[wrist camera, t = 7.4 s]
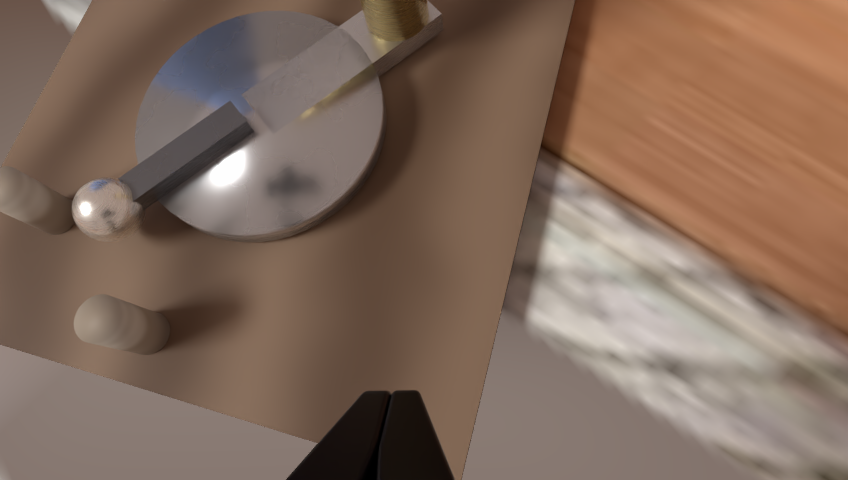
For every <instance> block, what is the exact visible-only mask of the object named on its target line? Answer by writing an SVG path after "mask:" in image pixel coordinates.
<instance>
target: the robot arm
mask: <svg viewBox="0 0 848 480" xmlns="http://www.w3.org/2000/svg"><path fill="white" fill-rule="evenodd" d="M286 480H455V478H454V476H453V473H452V471H451V468H450V466H449V463H448V461H447V458H446V456H445V453H444V451H443V448H442V446H441V443H440V441H439V438H438V436H437V433H436V431H435V428H434V426H433V423H432V421H431V418H430V416H429V414H428V411H427V409H426V406H425V404H424V401H423V399H422V396H421V394H420V392H419V391H417V390H396V391H394V392H393V393H392V394H391V392H389V391H387V390H382V391H365V392H364V393H362V394H361V395H360V396H359V397H358V399H357V400H356V401H355V402H354V403H353V404H352V405H351V407H350V408H349V409H348V410H347V411H346V412H345V413H344V414H343V416H342V417H341V418H340V419H339V420H338V421H337V422H336V424H335V425H334V426H333V427H332V428H331V429H330V430H329V431H328V433H327V434H326V435H325V436H324V437H323V438H322V439H321V440H320V442H319V443H318V444H317V445H316V446H315V447H314V448H313V450H312V451H311V452H310V453H309V454H308V455H307V456H306V457H305V459H304V460H303V461H302V462H301V463H300V464H299V466H298V467H297V468H296V469H295V470H294V471H293V472H292V473H291V475H290V476H289V477H288V478H287V479H286Z"/></svg>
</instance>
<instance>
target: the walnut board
mask: <svg viewBox="0 0 848 480" xmlns="http://www.w3.org/2000/svg"><path fill="white" fill-rule="evenodd" d="M428 1H429V2H430V3H431V4H432V5H433V6H434V7H435V8H436V9H437V10H438V11H439V12H440V13H442V21H443V31H442V32H440V33H439V34H438V35H436V36H435V37H433V38H432V39H431V40H429V41H428V42H426V43H425V44H424V45H422V46H421V47H420V48H418V49H417V50H415V51H414V52H413V53H411V54H410V55H408V56H407V57H406V58H404V59H403V60H402V61H400V62H399V63H397V64H396V65H395V66H393V67H392V68H390V69H389V70H388V71H386V72H385V73H383V74H382V75H381V76H379V77H378V78H379V81H380V85H381V88H382V92H383V96H384V101H385V105H386V132H385V138H384V142H383V146H382V150H381V152H380V155H379V158H378V160H377V163H376V165H375V167H374V169H373V170H372V172H371V174H370V176H369V178H368V179H367V180H366V182H365V183H364V185H363V186H362V187H361V189H360V190H359V191H358V192H357V193H356V194H355V196H354V197H353V198H352V199H351V200H350V201H349V202H348V203H347V204H346V205H345V206H343V207H342V208H341V209H340V210H339V211H337V212H336V213H335V214H334V215H332V216H331V217H329V218H328V219H326V220H325V221H323V222H322V223H320V224H318V225H316V226H314V227H312V228H310V229H308V230H306V231H303V232H301V233H298V234H295V235H292V236H290V237H286V238H281V239H277V240H273V241H264V242H236V241H230V240H223V239H220V238H217V237H213V236H210V235H207V234H205V233H203V232H201V231H199V230H197V229H195V228H193V227H192V226H190V225H189V224H187V223H186V222H184V221H183V220H181V219H180V218H178V217H177V216H176V215H174V214H173V213H171V212H170V211H169V210H168V209H167V208H165V207H164V206H163V205H162V204H161V203H160V202H159V201H156V202H155V203H154V204H152V205H151V206H149V207H148V208H147V209H146V213H145V219H144V221H143V223H142V225H141V227H140V228H139V229H138V231H137V232H135V233H134V234H133V235H131V236H130V237H128V238H126V239H123V240H120V241H115V242H104V241H99V240H96V239H93V238H91V237H89V236H87V235H86V234H85V233H83V232H82V231H81V230H80V229H79V228H78V226H77V225H76V223H75V221H74V219H73V216H72V202H73V199H74V196H75V194H76V193H77V191H78V190H79V189H80V188H81V187H82V186H83V185H85V184H86V183H88V182H90V181H92V180H94V179H98V178H104V177H112V178H120V177H121V176H122V175H124V174H125V173H127V172H128V171H130V170H131V169H132V168H134V167H135V166H137V165H138V161H137V156H136V151H135V130H136V121H137V117H138V113H139V109H140V106H141V103H142V101H143V98H144V96H145V93H146V91H147V90H148V88H149V86H150V84H151V82H152V80H153V79H154V77H155V76H156V75H157V73H158V72H159V70H160V69H161V67H162V66H163V65H164V64H165V63H166V62H167V61H168V59H169V58H170V57H171V56H172V55H173V54H174V53H175V52H176V51H178V50H179V49H180V48H181V47H182V46H183V45H184V44H186V43H187V42H188V41H190V40H191V39H192V38H194V37H195V36H197V35H198V34H200V33H202V32H203V31H205V30H207V29H208V28H210V27H212V26H215V25H217V24H219V23H221V22H223V21H226V20H229V19H232V18H235V17H238V16H242V15H246V14H250V13H256V12H263V11H292V12H299V13H304V14H309V15H313V16H315V17H318V18H321V19H324V20H326V21H328V22H330V23H332V24H334V25H336V26H338V27H339V26H340V25H342V24H343V23H345V22H346V21H347V20H349V19H350V18H352V17H353V16H355V15H356V14H357V13H359V12H360V11H362V10H363V9H362V6H361V2H360V0H92V2H91V4H90V6H89V7H88V9H87V11H86V13H85V15H84V17H83V18H82V20H81V22H80V24H79V26H78V27H77V29H76V31H75V33H74V35H73V37H72V38H71V40H70V42H69V44H68V46H67V48H66V49H65V51H64V53H63V55H62V57H61V58H60V60H59V62H58V64H57V66H56V68H55V69H54V71H53V73H52V75H51V77H50V79H49V80H48V82H47V84H46V86H45V88H44V89H43V91H42V93H41V95H40V97H39V99H38V100H37V102H36V104H35V106H34V108H33V109H32V111H31V113H30V115H29V117H28V119H27V120H26V122H25V124H24V126H23V128H22V129H21V131H20V133H19V135H18V137H17V139H16V141H15V142H14V144H13V146H12V148H11V150H10V151H9V153H8V155H7V157H6V159H5V160H4V163H3V164H2V166H1V167H0V345H3V346H7V347H10V348H13V349H17V350H20V351H23V352H26V353H29V354H32V355H36V356H39V357H42V358H46V359H49V360H52V361H55V362H58V363H61V364H65V365H68V366H71V367H74V368H78V369H81V370H84V371H87V372H90V373H94V374H97V375H100V376H103V377H107V378H110V379H113V380H116V381H120V382H123V383H126V384H129V385H132V386H136V387H139V388H142V389H145V390H149V391H152V392H155V393H158V394H161V395H165V396H168V397H171V398H174V399H178V400H181V401H184V402H187V403H191V404H193V405H197V406H200V407H203V408H206V409H210V410H213V411H216V412H220V413H222V414H226V415H229V416H232V417H235V418H238V419H242V420H245V421H248V422H251V423H255V424H258V425H261V426H264V427H268V428H271V429H274V430H277V431H280V432H283V433H287V434H290V435H293V436H296V437H300V438H303V439H306V440H309V441H313V442H316V443H319V442H320V440H321V439H322V438H323V437H324V436H325V435H326V434H327V433H328V431H329V430H330V429H331V428H332V427H333V426H334V425H335V424H336V422H337V421H338V420H339V419H340V418H341V417H342V416H343V414H344V413H345V412H346V411H347V410H348V409H349V408H350V407H351V405H352V404H353V403H354V402H355V401H356V400H357V399H358V397H359V396H360V395H361V394H362V393H364V392H365V391H382V390H387V391H389V392H391V394H392V393H393V392H394V391H396V390H417V391H419V392H420V394H421V396H422V399H423V401H424V404H425V406H426V409H427V411H428V414H429V416H430V418H431V421H432V423H433V426H434V428H435V431H436V433H437V436H438V438H439V441H440V443H441V446H442V448H443V451H444V453H445V456H446V458H447V461H448V463H449V466H450V468H451V471H452V473H453V476H454V478H455V480H461V479H462V475H463V471H464V466H465V462H466V458H467V454H468V450H469V445H470V441H471V437H472V433H473V429H474V424H475V420H476V416H477V412H478V408H479V403H480V399H481V395H482V391H483V386H484V382H485V378H486V374H487V369H488V365H489V361H490V357H491V352H492V349H493V344H494V340H495V335H496V332H497V327H498V323H499V319H500V315H501V311H502V307H503V302H504V298H505V294H506V290H507V285H508V281H509V277H510V273H511V269H512V264H513V260H514V256H515V252H516V248H517V243H518V239H519V235H520V231H521V227H522V222H523V218H524V214H525V210H526V205H527V201H528V197H529V193H530V189H531V184H532V180H533V176H534V172H535V168H536V163H537V159H538V155H539V151H540V147H541V142H542V138H543V134H544V130H545V125H546V121H547V117H548V113H549V109H550V104H551V100H552V96H553V92H554V88H555V83H556V79H557V75H558V71H559V67H560V62H561V58H562V54H563V50H564V45H565V41H566V37H567V33H568V29H569V24H570V20H571V16H572V12H573V8H574V3H575V0H428Z"/></svg>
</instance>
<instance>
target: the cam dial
mask: <svg viewBox="0 0 848 480" xmlns="http://www.w3.org/2000/svg"><path fill="white" fill-rule="evenodd" d="M360 2H361V6H362V9H363V10H362V11H360V12H359V13H357V14H356V15H355V16H353V17H352V18H350V19H349V20H347V21H346V22H345V23H343V24H342V25H340V26H339V27H338V26H336V25H334V24H332V23H330V22H328V21H326V20H324V19H321V18H318V17H315V16H313V15H309V14H304V13H299V12H292V11H263V12H256V13H250V14H246V15H242V16H238V17H235V18H232V19H229V20H226V21H223V22H221V23H219V24H217V25H215V26H212V27H210V28H208V29H207V30H205V31H203V32H202V33H200V34H198V35H197V36H195V37H194V38H192V39H191V40H190V41H188V42H187V43H186V44H184V45H183V46H182V47H181V48H180V49H179V50H178V51H176V52H175V53H174V54H173V55H172V56H171V57H170V58H169V59H168V61H167V62H166V63H165V64H164V65H163V66H162V67H161V69H160V70H159V72H158V73H157V75H156V76H155V77H154V79H153V80H152V82H151V84H150V86H149V88H148V90H147V91H146V93H145V96H144V98H143V101H142V103H141V106H140V109H139V113H138V117H137V121H136V130H135V151H136V156H137V161H138V165H137V166H135V167H134V168H132V169H131V170H130V171H128V172H127V173H125V174H124V175H122V176H121V177H120V178H112V177H104V178H98V179H94V180H92V181H90V182H88V183H86V184H85V185H83V186H82V187H81V188H80V189H79V190H78V191H77V193H76V194H75V196H74V199H73V202H72V216H73V219H74V221H75V223H76V225H77V226H78V228H79V229H80V230H81V231H82V232H83V233H85V234H86V235H87V236H89V237H91V238H93V239H96V240H99V241H104V242H115V241H120V240H123V239H126V238H128V237H130V236H131V235H133V234H134V233H135V232H137V231H138V229H139V228H140V227H141V225H142V223H143V221H144V219H145V213H146V209H147V208H148V207H149V206H151V205H152V204H154V203H155V202H156V201H159V202H160V203H161V204H162V205H163V206H164V207H165V208H167V209H168V210H169V211H170V212H171V213H173V214H174V215H176V216H177V217H178V218H180V219H181V220H183V221H184V222H186V223H187V224H189V225H190V226H192V227H193V228H195V229H197V230H199V231H201V232H203V233H205V234H207V235H210V236H213V237H217V238H220V239H223V240H230V241H236V242H264V241H273V240H277V239H281V238H286V237H290V236H292V235H295V234H298V233H301V232H303V231H306V230H308V229H310V228H312V227H314V226H316V225H318V224H320V223H322V222H323V221H325V220H326V219H328V218H329V217H331V216H332V215H334V214H335V213H336V212H337V211H339V210H340V209H341V208H342V207H343V206H345V205H346V204H347V203H348V202H349V201H350V200H351V199H352V198H353V197H354V196H355V194H356V193H357V192H358V191H359V190H360V189H361V187H362V186H363V185H364V183H365V182H366V180H367V179H368V178H369V176H370V174H371V172H372V170H373V169H374V167H375V165H376V163H377V160H378V158H379V155H380V152H381V150H382V146H383V142H384V138H385V132H386V105H385V101H384V96H383V92H382V88H381V85H380V81H379V78H378V77H379V76H381V75H382V74H383V73H385V72H386V71H388V70H389V69H390V68H392V67H393V66H395V65H396V64H397V63H399V62H400V61H402V60H403V59H404V58H406V57H407V56H408V55H410V54H411V53H413V52H414V51H415V50H417V49H418V48H420V47H421V46H422V45H424V44H425V43H426V42H428V41H429V40H431V39H432V38H433V37H435V36H436V35H438V34H439V33H440V32H442V31H443V21H442V13H440V12H439V11H438V10H437V9H436V8H435V7H434V6H433V5H432V4H431V3H430V2H429V1H428V0H360Z"/></svg>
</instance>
